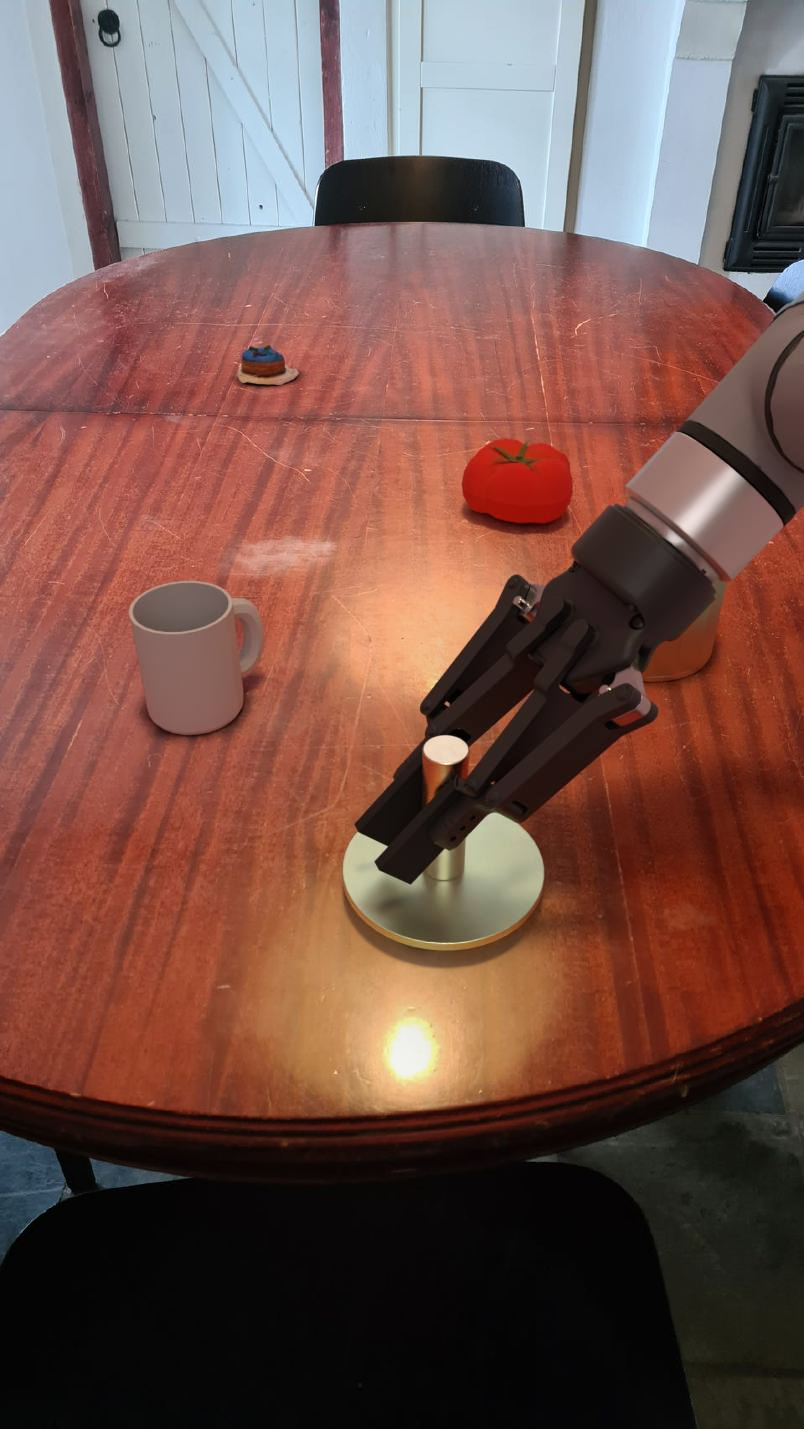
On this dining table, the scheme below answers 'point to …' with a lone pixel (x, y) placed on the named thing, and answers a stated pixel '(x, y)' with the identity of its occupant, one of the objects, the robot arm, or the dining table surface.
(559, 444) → the dining table surface
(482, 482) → the tomato
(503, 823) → the lid
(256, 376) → the dessert
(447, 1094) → the dining table surface
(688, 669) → the round metal container
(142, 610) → the cup
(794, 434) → the robot arm
